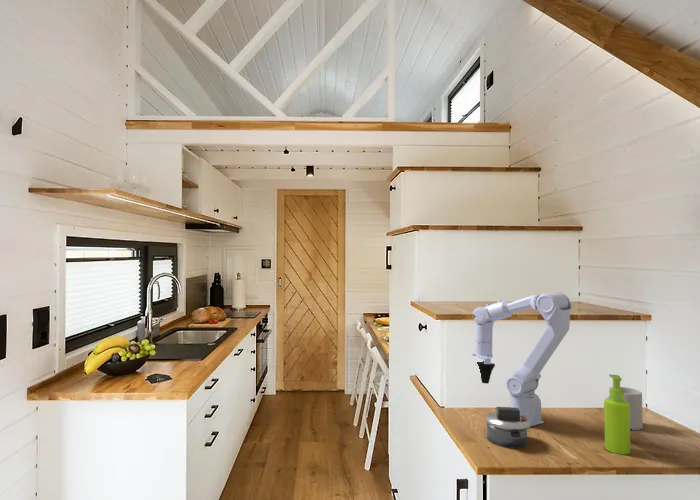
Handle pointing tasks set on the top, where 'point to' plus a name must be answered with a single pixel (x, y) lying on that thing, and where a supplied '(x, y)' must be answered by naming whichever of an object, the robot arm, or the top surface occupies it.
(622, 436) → the soap dispenser
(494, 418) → the cooker lid
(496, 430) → the cooker pot
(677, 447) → the top surface
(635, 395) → the mug
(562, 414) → the top surface
